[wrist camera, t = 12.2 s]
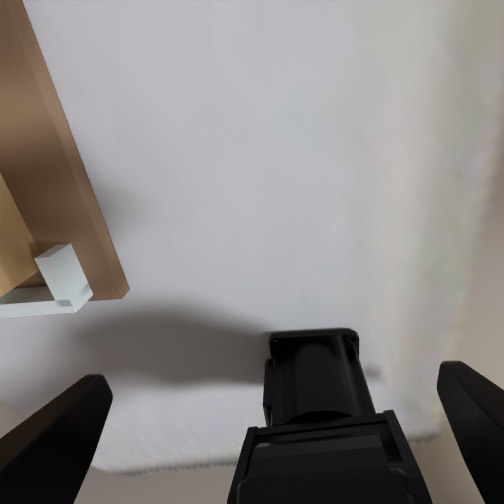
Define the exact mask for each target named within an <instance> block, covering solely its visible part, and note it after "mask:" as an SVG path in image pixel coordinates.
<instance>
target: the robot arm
mask: <svg viewBox="0 0 504 504" xmlns="http://www.w3.org/2000/svg"><path fill="white" fill-rule="evenodd" d="M350 337H353V338H350ZM275 340H277V341H278V342H274V341H275ZM269 345H270V351H271V358H272V359H267V360H266V361H265V377H264V394H263V409H264V415H265V420H266V426H267V427H261V428H258V427H257V426H256V427H248V430H247V434H246V437H245V440H244V442H243V446H242V449H241V453H240V457H239V460H238V464H237V467H236V471H235V474H234V478H233V481H232V485H231V489H230V492H229V495H228V500H227V504H433V503H432V500H431V497H430V495H429V492H428V489H427V486H426V484H425V481H424V479H423V476H422V474H421V471H420V469H419V467H418V465H417V462H416V460H415V458H414V456H413V453H412V451H411V449H410V447H409V444H408V442H407V440H406V438H405V435H404V433H403V431H402V429H401V426H400V424H399V422H398V420H397V417H396V415H395V413H394V411H393V410H386V411H383V413H376V412H375V408H374V405H373V402H372V399H371V396H370V393H369V389H368V386H367V383H366V380H365V377H364V373H363V370H362V367H361V364H360V361H359V337H358V334H357V332H356V331H354V330H345V331H326V332H307V333H288V334H274V335H271V336H270V339H269ZM437 391H438V395H439V397H440V400H441V403H442V405H443V408H444V410H445V413H446V415H447V418H448V421H449V423H450V426H451V428H452V431H453V433H454V436H455V439H456V441H457V444H458V446H459V449H460V451H461V454H462V456H463V458H464V461H465V463H466V465H467V468H468V470H469V472H470V474H471V476H472V478H473V480H474V482H475V484H476V486H477V488H478V490H479V492H480V494H481V496H482V498H483V500H484V502H485V504H504V390H503V389H501V388H500V387H498V386H497V385H496V384H494V383H493V382H491V381H490V380H488V379H487V378H485V377H484V376H482V375H480V374H479V373H478V372H477V371H475V370H474V369H472V368H471V367H469V366H468V365H466V364H465V363H463V362H461V361H443V362H442V363H441V364H440V369H439V375H438V380H437ZM112 399H113V395H112V391H111V389H110V387H109V385H108V383H107V381H106V379H105V377H104V376H103V375H102V374H88V375H86V376H84V377H83V378H82V379H80V380H79V381H78V382H76V383H75V384H73V385H72V386H71V387H69V388H68V389H67V390H65V391H64V392H63V393H61V394H60V395H59V396H57V397H56V398H55V399H53V400H52V401H50V402H49V403H48V404H46V405H45V406H44V407H42V408H41V409H40V410H38V411H37V412H36V413H34V414H33V415H32V416H30V417H29V418H27V419H26V420H25V421H23V422H22V423H21V424H19V425H18V426H17V427H16V428H14V429H13V430H11V431H10V432H9V433H7V434H6V435H4V436H3V437H2V438H0V504H74V501H75V499H76V497H77V494H78V492H79V490H80V487H81V485H82V483H83V481H84V478H85V476H86V474H87V471H88V469H89V467H90V464H91V462H92V459H93V457H94V454H95V451H96V448H97V445H98V442H99V439H100V436H101V434H102V431H103V428H104V425H105V422H106V419H107V416H108V413H109V410H110V407H111V404H112Z"/></svg>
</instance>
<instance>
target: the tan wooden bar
mask: <svg viewBox="0 0 504 504" xmlns="http://www.w3.org/2000/svg"><path fill="white" fill-rule="evenodd" d="M39 255H41V254H40V252H39V250H38V248H37V246H36V244H35V242H34V240H33V238H32V236H31V234H30V232H29V230H28V228H27V226H26V224H25V222H24V220H23V218H22V216H21V214H20V212H19V210H18V208H17V206H16V204H15V202H14V200H13V198H12V196H11V194H10V192H9V190H8V188H7V186H6V184H5V182H4V180H3V178H2V176H1V173H0V297H1V296H3V295H4V294H6V293H7V292H9V291H10V290H12V289H13V288H15V287H16V286H18V285H19V284H21V283H22V282H24V281H25V280H26V279H28V278H29V277H31V276H32V275H34V274H35V273H37V272H38V271H40V269H39V267H38V265H37V263H36V261H35V259H34V258H36V257H37V256H39Z"/></svg>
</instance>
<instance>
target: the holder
mask: <svg viewBox="0 0 504 504" xmlns="http://www.w3.org/2000/svg"><path fill="white" fill-rule="evenodd" d="M0 173H1V176H2V178H3V180H4V182H5V184H6V186H7V188H8V190H9V192H10V194H11V196H12V198H13V200H14V202H15V204H16V206H17V208H18V210H19V212H20V214H21V216H22V218H23V220H24V222H25V224H26V226H27V228H28V230H29V232H30V234H31V236H32V238H33V240H34V242H35V244H36V246H37V248H38V250H39V252H40V254H41V255H39V256H37V257H36V258H34V259H35V261H36V263H37V265H38V267H39V269H40V271H38V272H37V273H35V274H34V275H32V276H31V277H29V278H28V279H26V280H25V281H24V282H22V283H21V284H19V285H18V286H16V287H15V288H13V289H12V290H10V291H9V292H7V293H6V294H4V295H3V296H1V297H0V318H1V317H15V316H30V315H45V314H59V313H74V312H77V311H78V310H79V309H80V308H81V307H82V306H83V305H84V304H85V303H86V302H87V301H98V300H112V299H122V298H123V297H124V296H125V295H126V293H127V292H128V291H129V290H130V289H129V286H128V283H127V280H126V278H125V275H124V272H123V270H122V267H121V264H120V262H119V259H118V256H117V254H116V251H115V248H114V246H113V243H112V240H111V238H110V235H109V232H108V230H107V227H106V224H105V221H104V219H103V216H102V213H101V211H100V208H99V205H98V203H97V200H96V197H95V195H94V192H93V189H92V187H91V184H90V181H89V179H88V176H87V173H86V171H85V168H84V165H83V162H82V160H81V157H80V154H79V152H78V149H77V146H76V144H75V141H74V138H73V136H72V133H71V130H70V128H69V125H68V122H67V120H66V117H65V114H64V112H63V109H62V106H61V103H60V101H59V98H58V95H57V93H56V90H55V87H54V85H53V82H52V79H51V77H50V74H49V71H48V69H47V66H46V63H45V61H44V58H43V55H42V53H41V50H40V47H39V44H38V42H37V39H36V36H35V34H34V31H33V28H32V26H31V23H30V20H29V18H28V15H27V12H26V10H25V7H24V4H23V2H22V0H0Z"/></svg>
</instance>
